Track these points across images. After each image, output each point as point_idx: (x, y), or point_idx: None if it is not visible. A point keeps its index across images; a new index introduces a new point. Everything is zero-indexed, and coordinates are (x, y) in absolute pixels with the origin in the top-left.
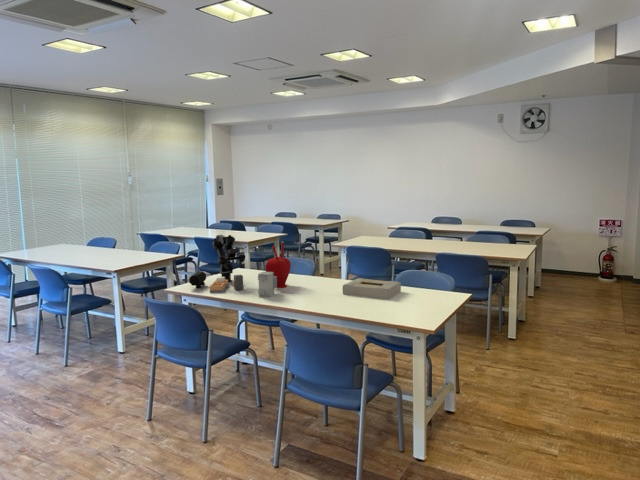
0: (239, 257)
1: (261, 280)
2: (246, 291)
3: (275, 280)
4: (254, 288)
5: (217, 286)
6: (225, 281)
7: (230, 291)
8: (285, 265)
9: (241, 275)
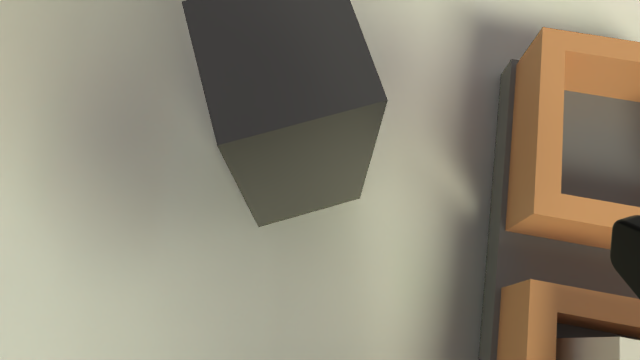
0: None
1: None
2: None
3: None
4: (71, 188)
5: (612, 44)
6: (543, 348)
7: (405, 98)
8: None
9: (207, 39)
